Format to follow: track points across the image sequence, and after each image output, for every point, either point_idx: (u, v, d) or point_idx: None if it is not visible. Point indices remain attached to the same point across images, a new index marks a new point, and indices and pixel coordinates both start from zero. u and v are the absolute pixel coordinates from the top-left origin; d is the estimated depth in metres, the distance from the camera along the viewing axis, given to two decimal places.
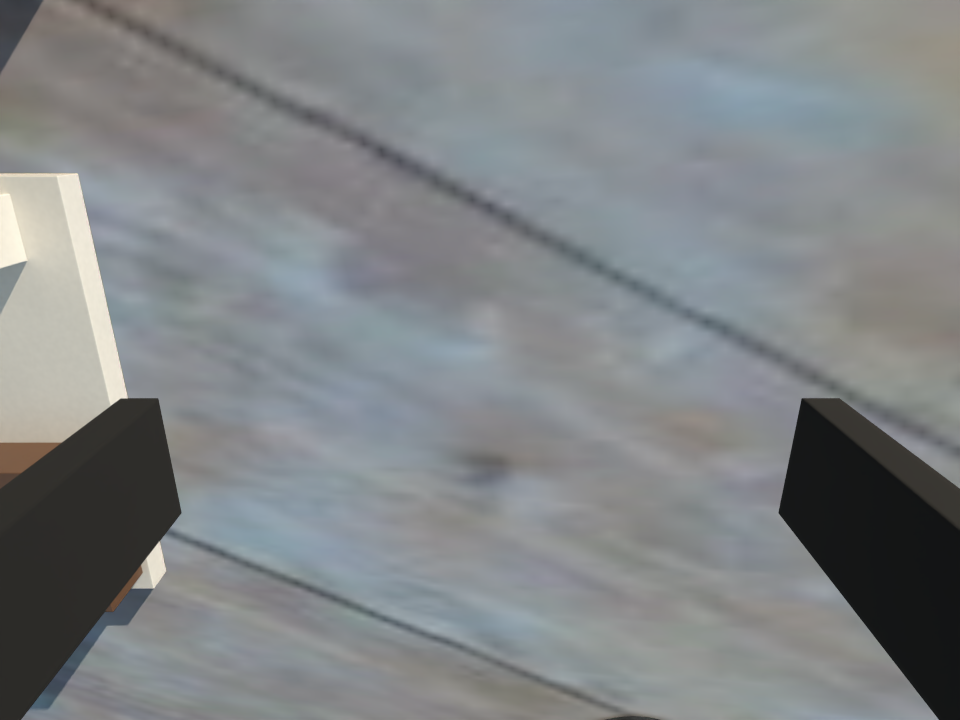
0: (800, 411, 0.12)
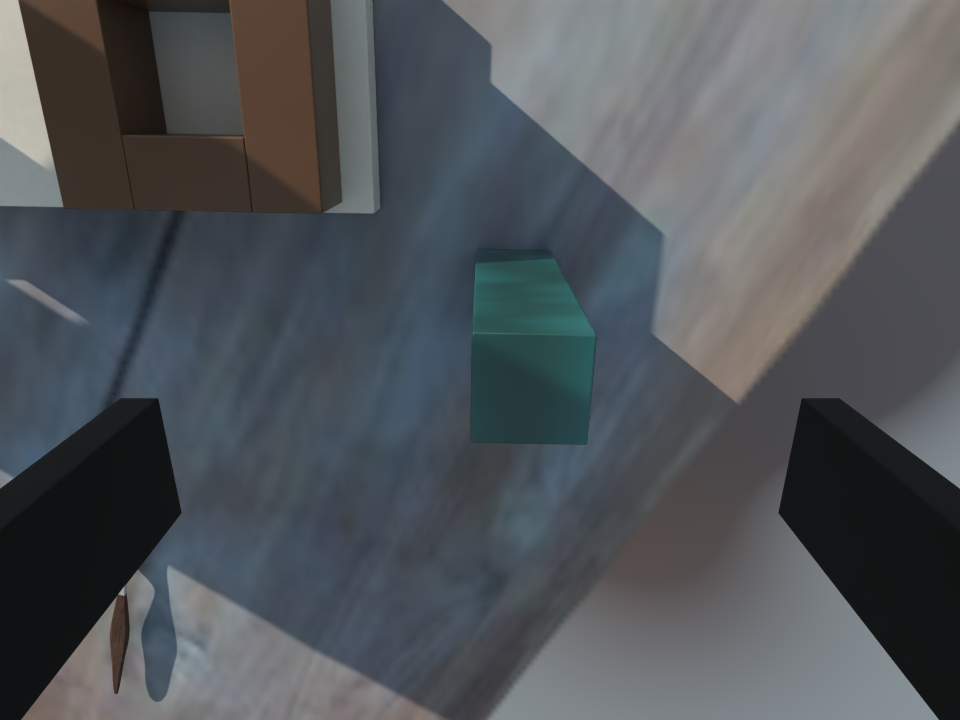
0: (800, 411, 0.12)
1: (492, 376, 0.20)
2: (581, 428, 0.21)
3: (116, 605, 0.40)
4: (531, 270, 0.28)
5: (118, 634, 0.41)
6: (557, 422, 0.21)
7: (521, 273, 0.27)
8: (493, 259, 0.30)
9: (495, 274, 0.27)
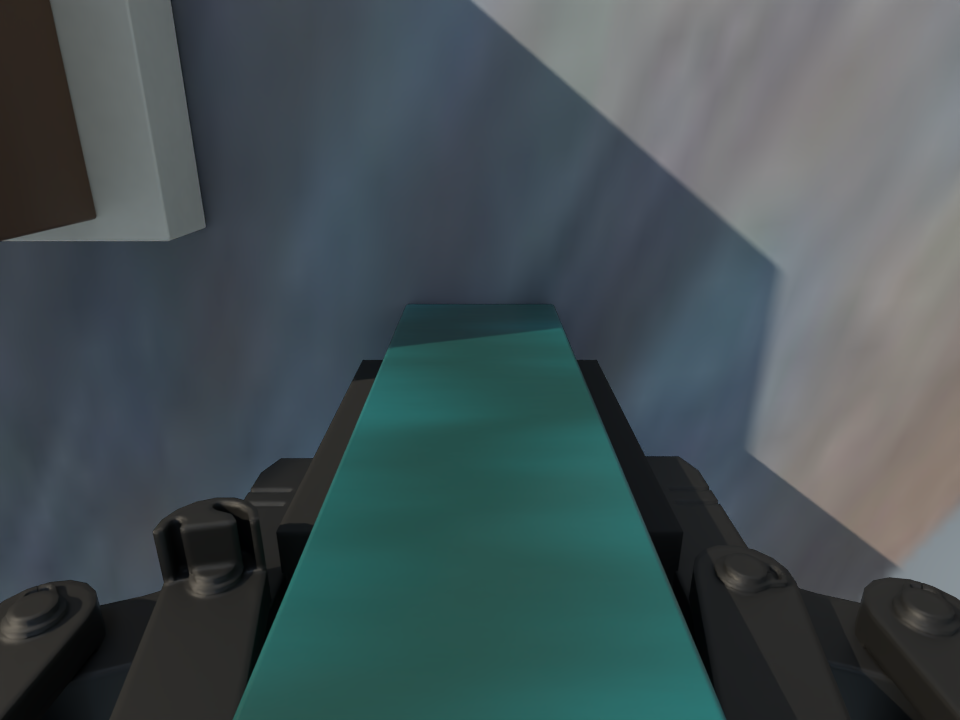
0: None
1: None
2: None
3: None
4: (509, 371, 0.12)
5: None
6: None
7: (483, 384, 0.11)
8: (430, 334, 0.14)
9: (418, 390, 0.11)
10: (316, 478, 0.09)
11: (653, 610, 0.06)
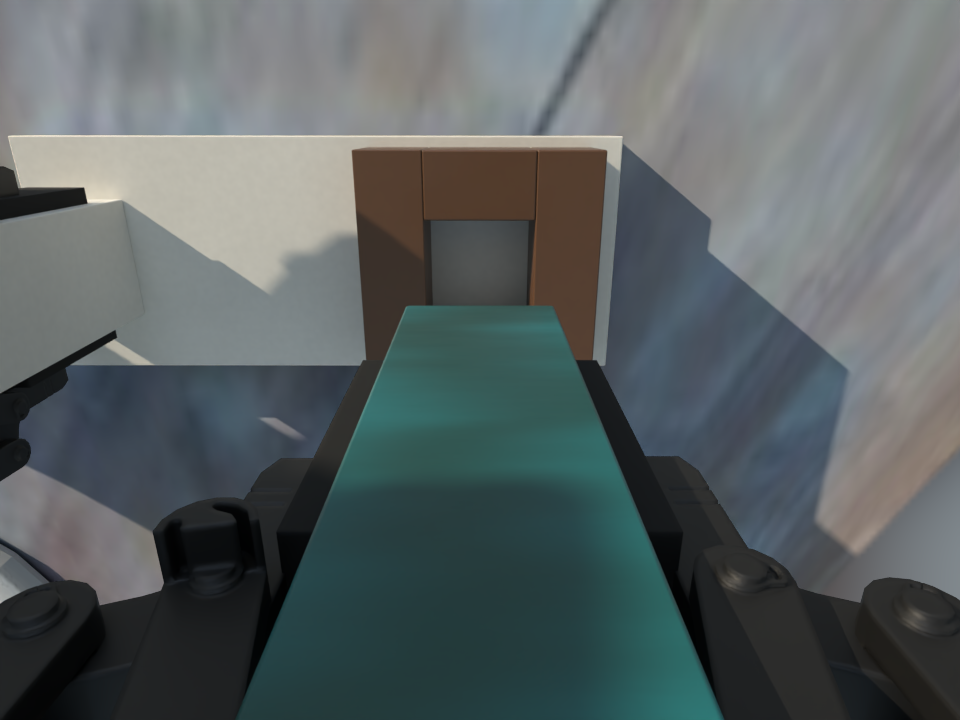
0: None
1: None
2: None
3: None
4: (509, 373, 0.12)
5: None
6: None
7: (483, 386, 0.11)
8: (430, 335, 0.14)
9: (419, 392, 0.11)
10: (316, 479, 0.09)
11: (653, 613, 0.06)
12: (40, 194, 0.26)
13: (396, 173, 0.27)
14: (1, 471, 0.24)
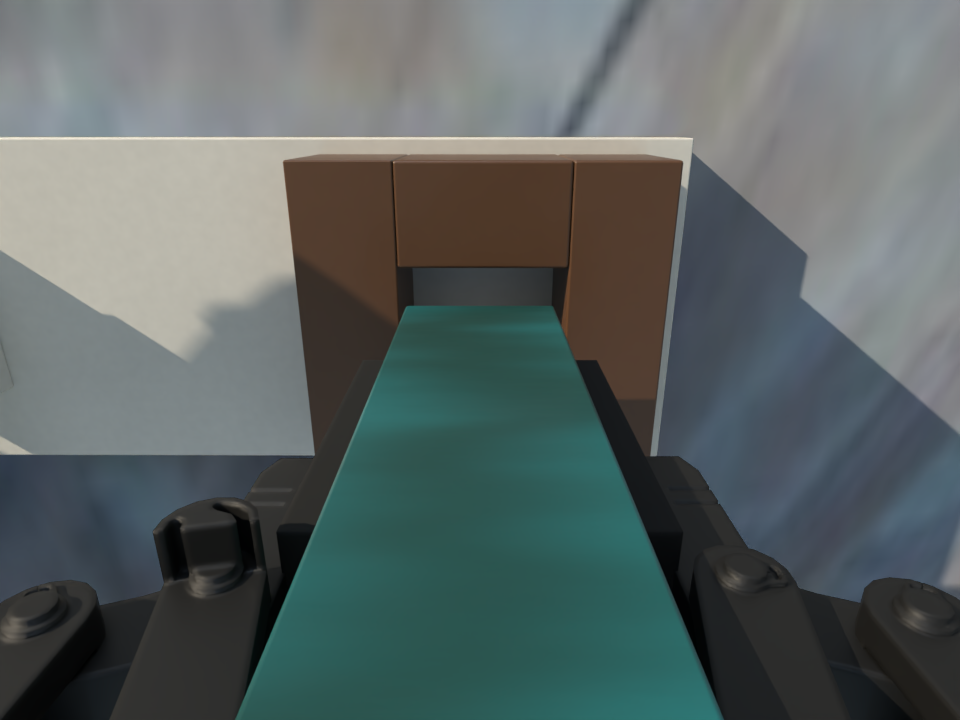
0: None
1: None
2: None
3: None
4: (509, 373, 0.12)
5: None
6: None
7: (483, 386, 0.11)
8: (430, 336, 0.14)
9: (418, 393, 0.11)
10: (316, 478, 0.09)
11: (653, 614, 0.06)
12: None
13: (353, 196, 0.17)
14: None
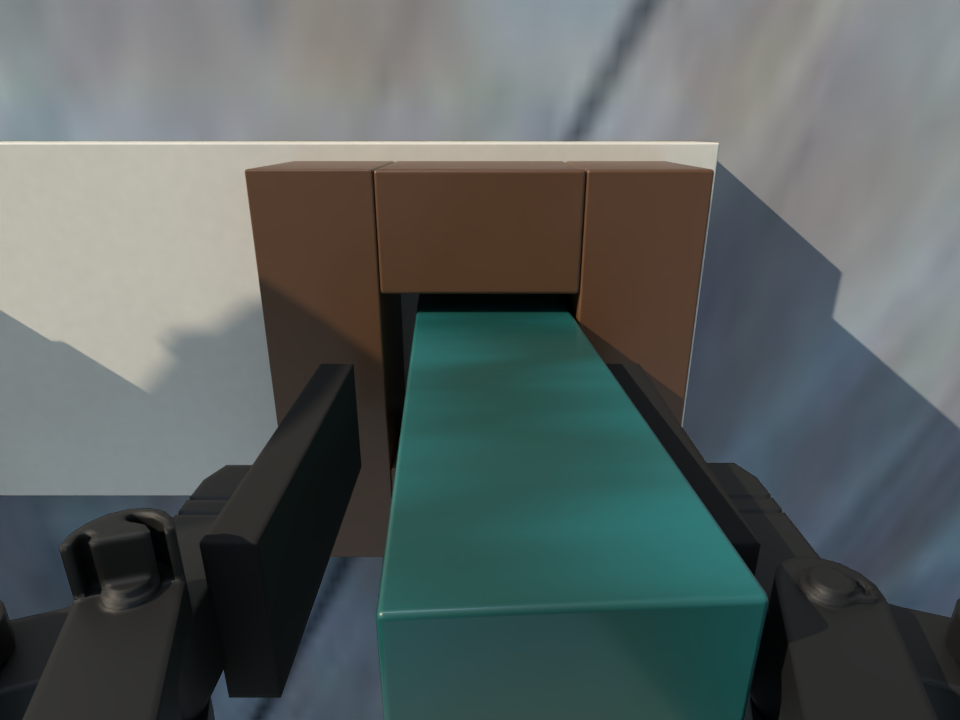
0: None
1: None
2: None
3: None
4: (522, 327, 0.15)
5: None
6: None
7: (503, 336, 0.14)
8: (449, 303, 0.17)
9: (452, 341, 0.14)
10: (251, 487, 0.09)
11: (654, 459, 0.09)
12: None
13: (327, 211, 0.15)
14: None
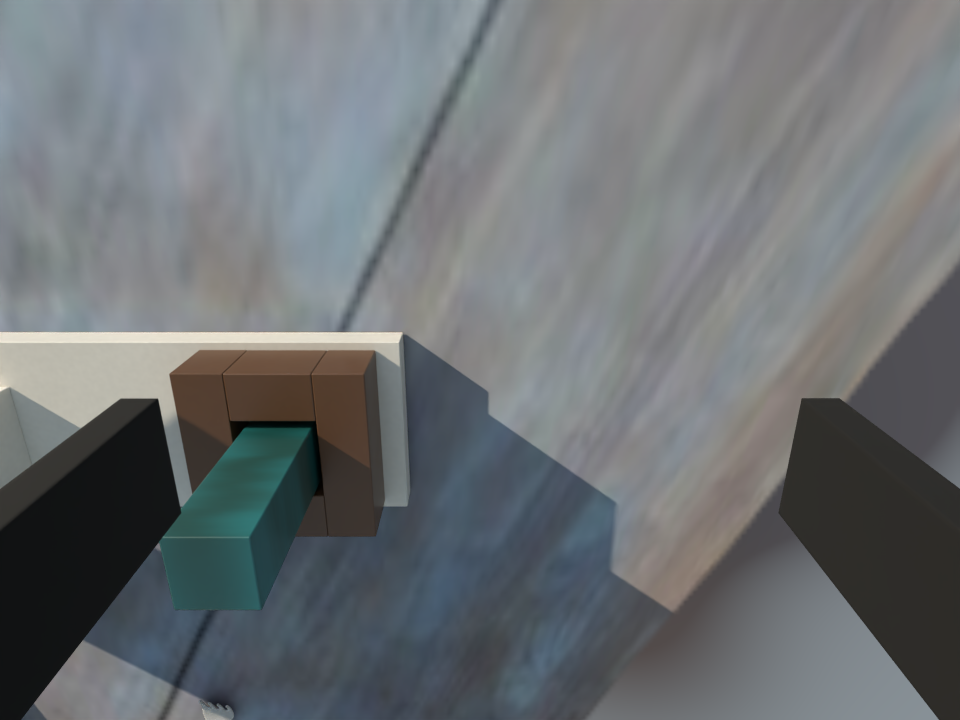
0: (800, 411, 0.12)
1: (179, 565, 0.27)
2: (254, 599, 0.27)
3: None
4: (281, 437, 0.35)
5: None
6: (235, 595, 0.27)
7: (268, 443, 0.34)
8: None
9: (246, 445, 0.34)
10: None
11: (264, 500, 0.29)
12: None
13: (204, 389, 0.35)
14: None
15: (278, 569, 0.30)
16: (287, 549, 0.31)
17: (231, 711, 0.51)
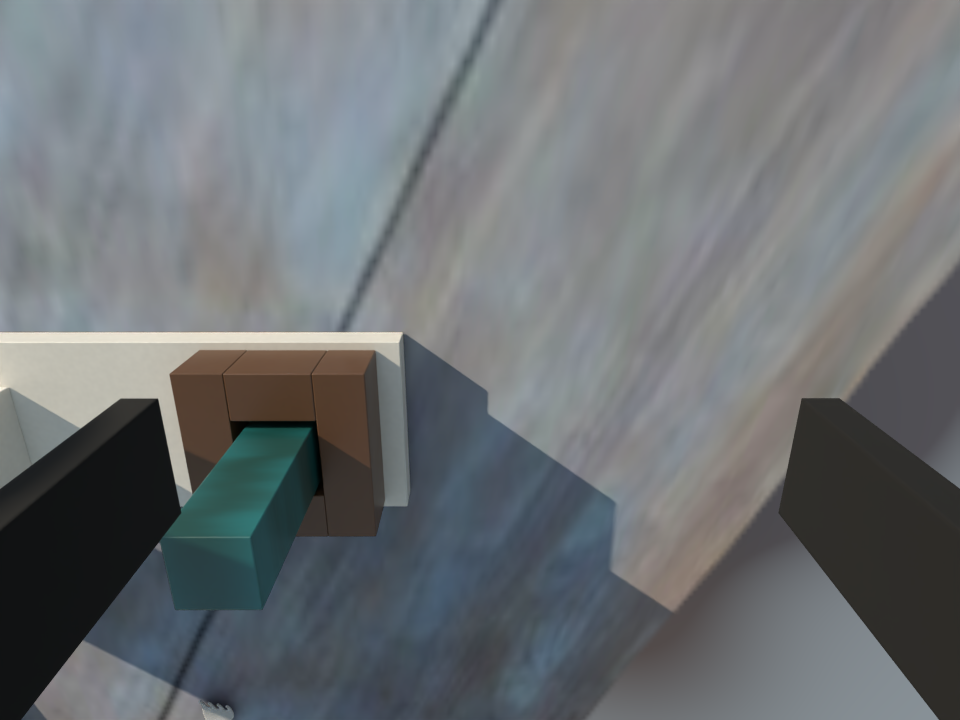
0: (800, 411, 0.12)
1: (180, 565, 0.27)
2: (255, 599, 0.27)
3: None
4: (281, 437, 0.35)
5: None
6: (236, 595, 0.27)
7: (269, 443, 0.34)
8: None
9: (246, 445, 0.34)
10: None
11: (265, 500, 0.29)
12: None
13: (204, 389, 0.35)
14: None
15: (279, 569, 0.30)
16: (288, 549, 0.31)
17: (231, 711, 0.51)
